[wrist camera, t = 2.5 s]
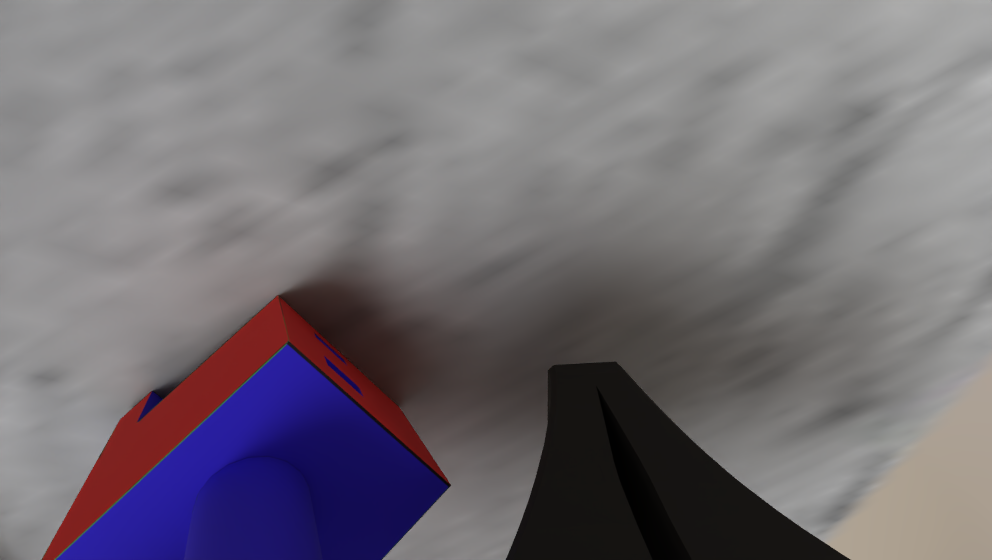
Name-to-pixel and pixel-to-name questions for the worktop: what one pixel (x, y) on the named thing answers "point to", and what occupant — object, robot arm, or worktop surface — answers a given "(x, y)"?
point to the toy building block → (257, 461)
